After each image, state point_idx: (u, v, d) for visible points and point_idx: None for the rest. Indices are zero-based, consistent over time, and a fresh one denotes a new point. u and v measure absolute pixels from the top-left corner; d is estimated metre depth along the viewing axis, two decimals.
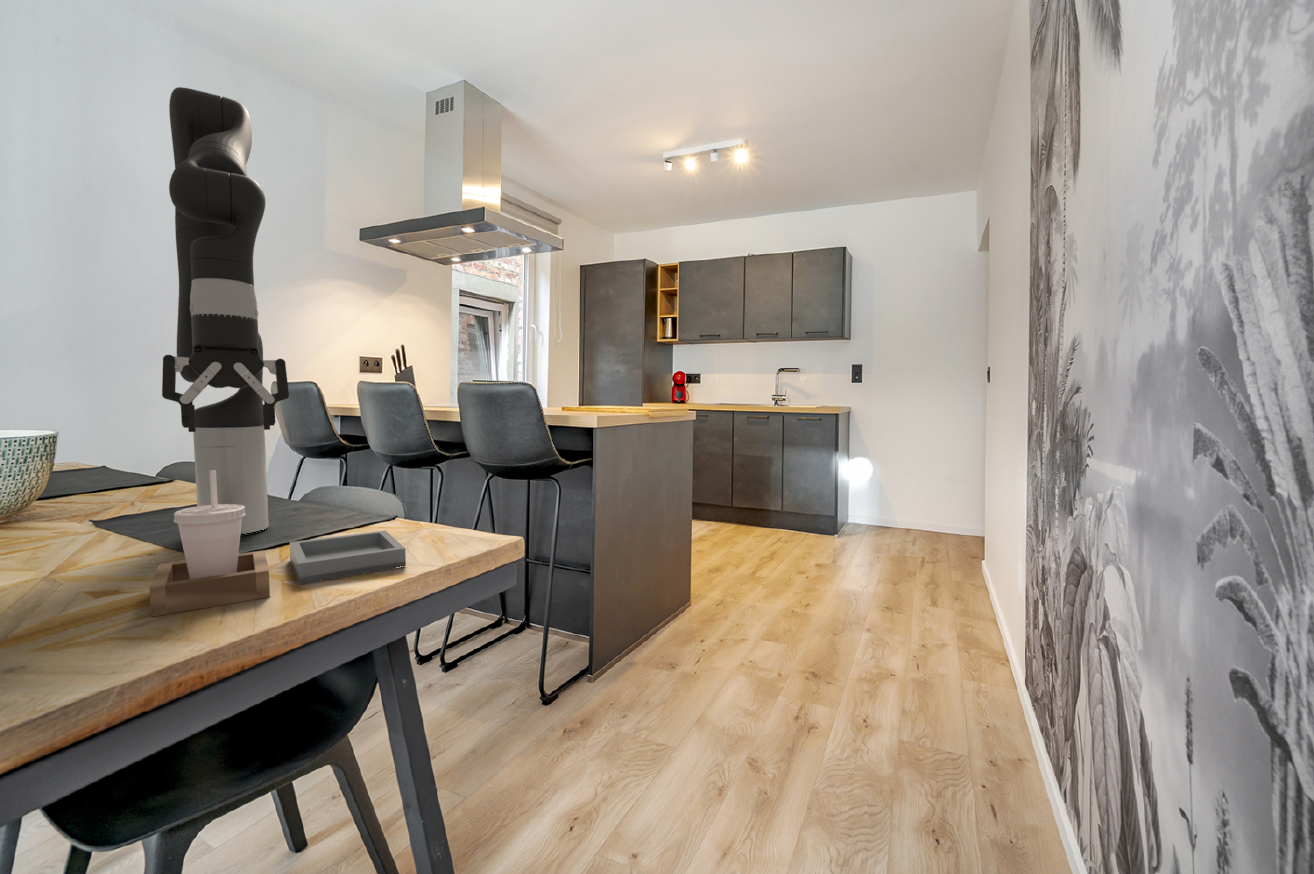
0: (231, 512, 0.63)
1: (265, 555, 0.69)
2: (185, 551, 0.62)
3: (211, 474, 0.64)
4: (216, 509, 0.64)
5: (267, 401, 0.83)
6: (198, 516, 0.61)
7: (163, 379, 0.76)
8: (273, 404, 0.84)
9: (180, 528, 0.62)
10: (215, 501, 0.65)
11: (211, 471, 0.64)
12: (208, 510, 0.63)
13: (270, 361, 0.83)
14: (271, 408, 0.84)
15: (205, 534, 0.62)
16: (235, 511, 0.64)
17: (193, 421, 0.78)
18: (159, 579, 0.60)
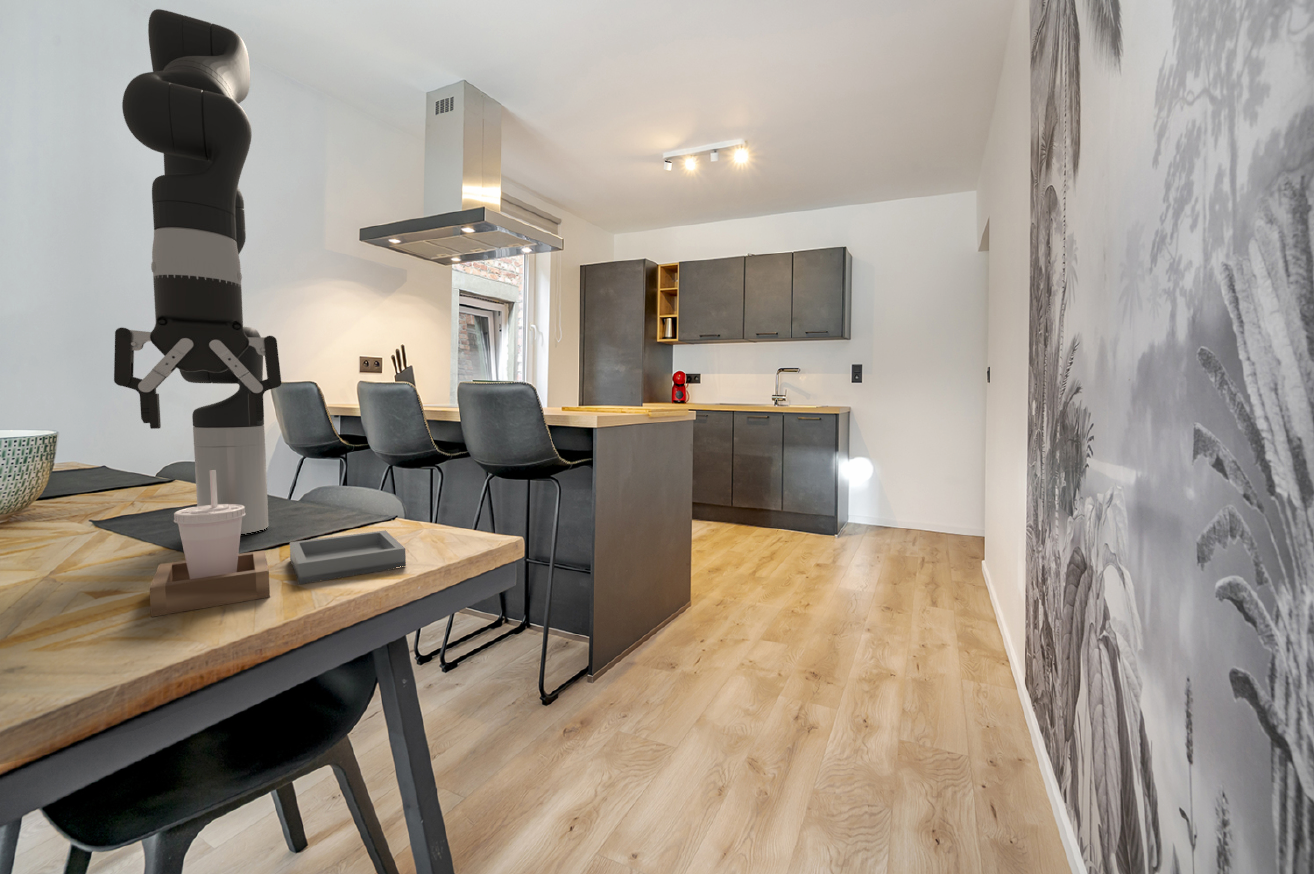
0: (231, 512, 0.63)
1: (265, 555, 0.69)
2: (185, 551, 0.62)
3: (211, 474, 0.64)
4: (216, 509, 0.64)
5: (253, 390, 0.65)
6: (198, 516, 0.61)
7: (115, 359, 0.58)
8: (261, 394, 0.66)
9: (180, 528, 0.62)
10: (215, 501, 0.65)
11: (211, 471, 0.64)
12: (208, 510, 0.63)
13: (257, 339, 0.65)
14: (258, 399, 0.66)
15: (205, 534, 0.62)
16: (235, 511, 0.64)
17: (156, 415, 0.60)
18: (159, 579, 0.60)
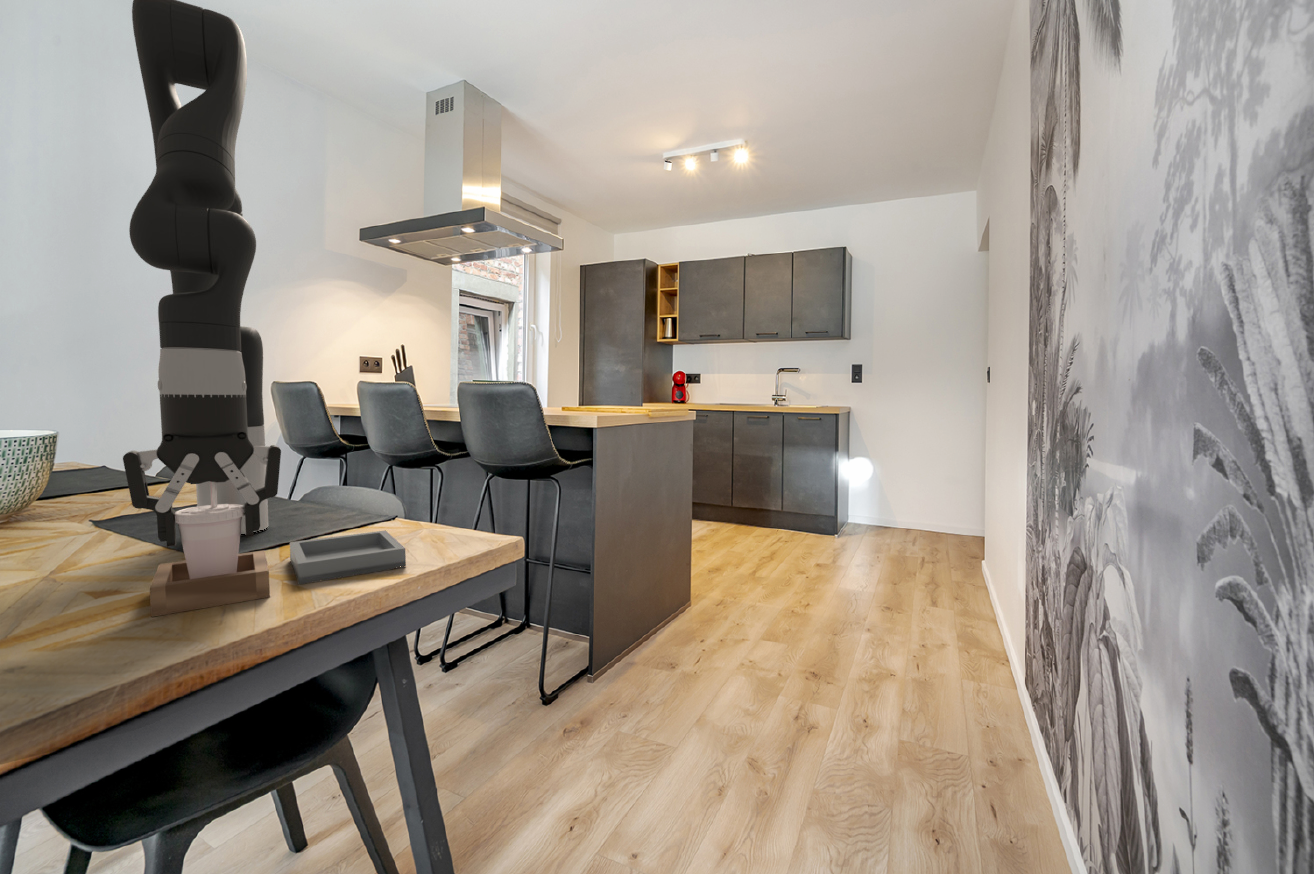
0: (231, 512, 0.63)
1: (265, 555, 0.69)
2: (185, 551, 0.62)
3: None
4: (216, 509, 0.64)
5: (250, 502, 0.65)
6: (198, 516, 0.61)
7: (129, 485, 0.59)
8: (257, 504, 0.66)
9: (180, 528, 0.62)
10: (215, 501, 0.65)
11: None
12: (208, 510, 0.63)
13: (262, 448, 0.66)
14: (255, 509, 0.66)
15: (205, 534, 0.62)
16: (235, 511, 0.64)
17: (173, 533, 0.62)
18: (159, 579, 0.60)
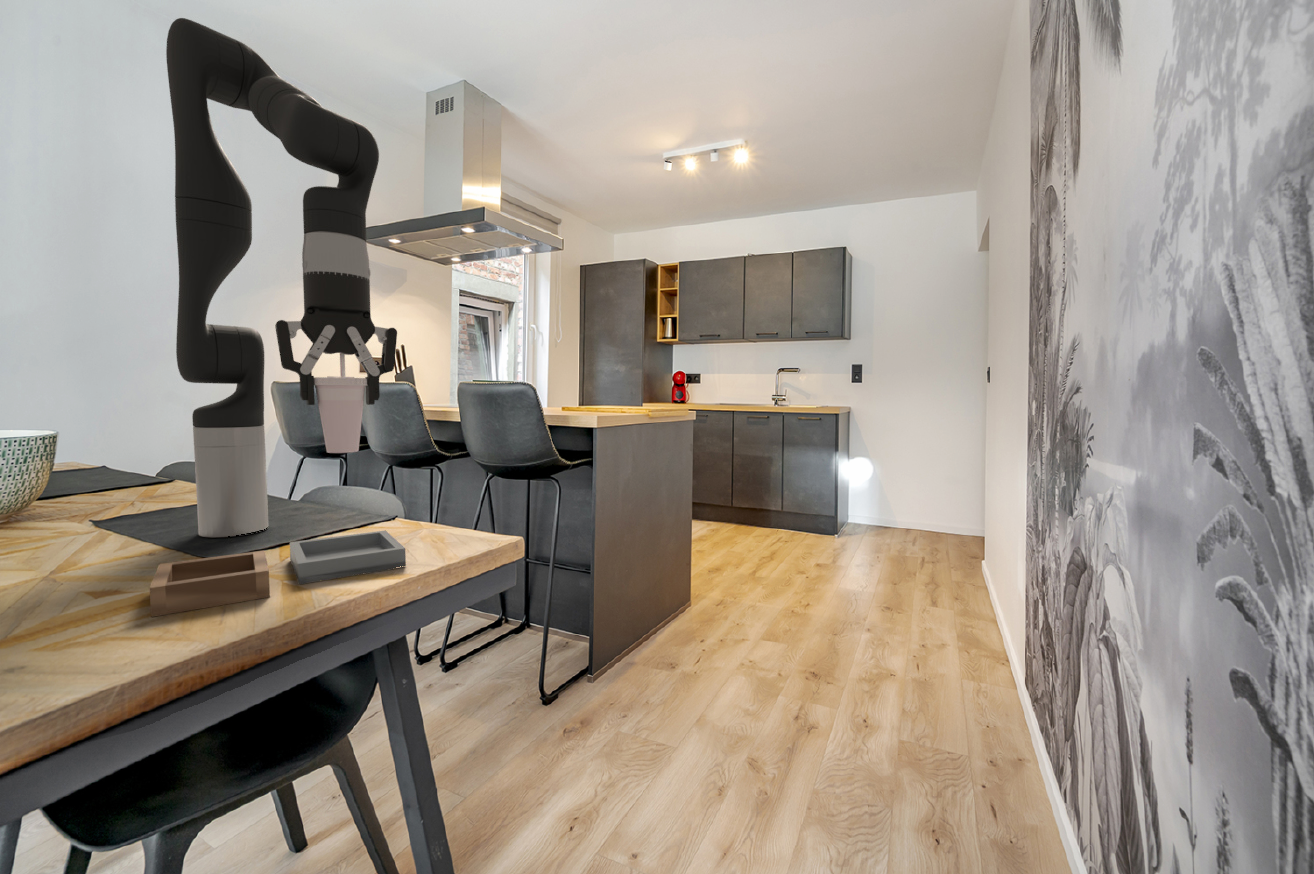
0: (359, 379, 0.74)
1: (265, 555, 0.69)
2: (322, 411, 0.73)
3: None
4: (346, 377, 0.74)
5: (372, 373, 0.76)
6: (335, 378, 0.72)
7: (281, 347, 0.70)
8: (377, 377, 0.77)
9: (318, 390, 0.72)
10: (344, 371, 0.75)
11: None
12: (340, 377, 0.74)
13: (382, 329, 0.77)
14: (375, 381, 0.77)
15: (340, 395, 0.72)
16: (362, 379, 0.74)
17: (313, 393, 0.72)
18: (159, 579, 0.60)
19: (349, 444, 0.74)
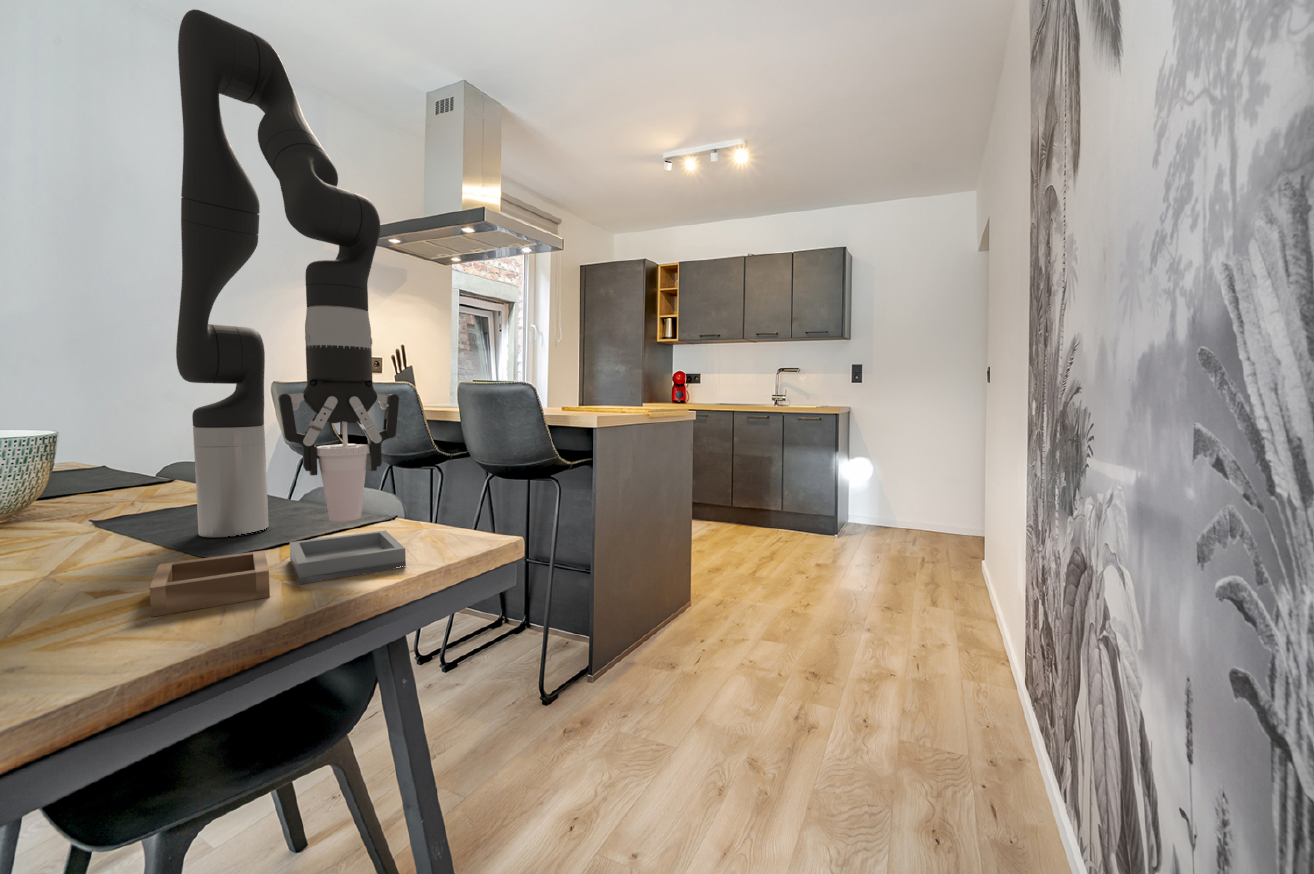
0: (362, 448, 0.74)
1: (265, 555, 0.69)
2: (324, 480, 0.73)
3: None
4: (348, 446, 0.75)
5: (374, 440, 0.76)
6: (337, 449, 0.72)
7: (284, 421, 0.70)
8: (380, 443, 0.77)
9: (321, 460, 0.73)
10: (346, 439, 0.76)
11: None
12: (342, 446, 0.74)
13: (384, 395, 0.77)
14: (378, 448, 0.77)
15: (342, 465, 0.73)
16: (364, 447, 0.75)
17: (316, 464, 0.73)
18: (159, 579, 0.60)
19: (351, 512, 0.75)
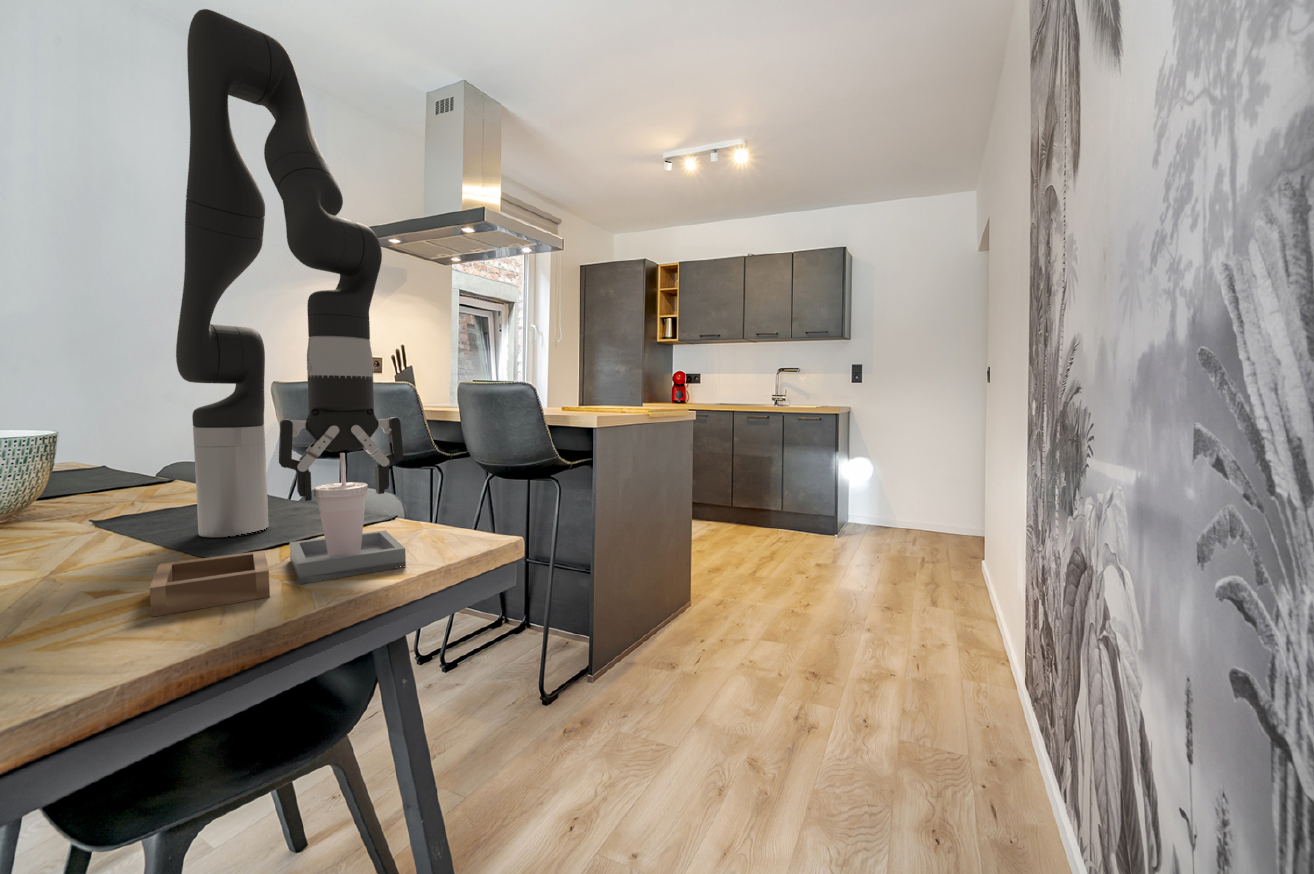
0: (360, 488, 0.75)
1: (265, 555, 0.69)
2: (324, 521, 0.74)
3: (341, 456, 0.76)
4: (347, 486, 0.75)
5: (382, 464, 0.77)
6: (336, 491, 0.73)
7: (281, 446, 0.70)
8: (387, 466, 0.78)
9: (320, 501, 0.73)
10: (344, 479, 0.76)
11: (341, 454, 0.76)
12: (341, 486, 0.75)
13: (385, 420, 0.78)
14: (385, 471, 0.78)
15: (341, 506, 0.73)
16: (363, 487, 0.75)
17: (310, 489, 0.72)
18: (159, 579, 0.60)
19: (351, 551, 0.75)
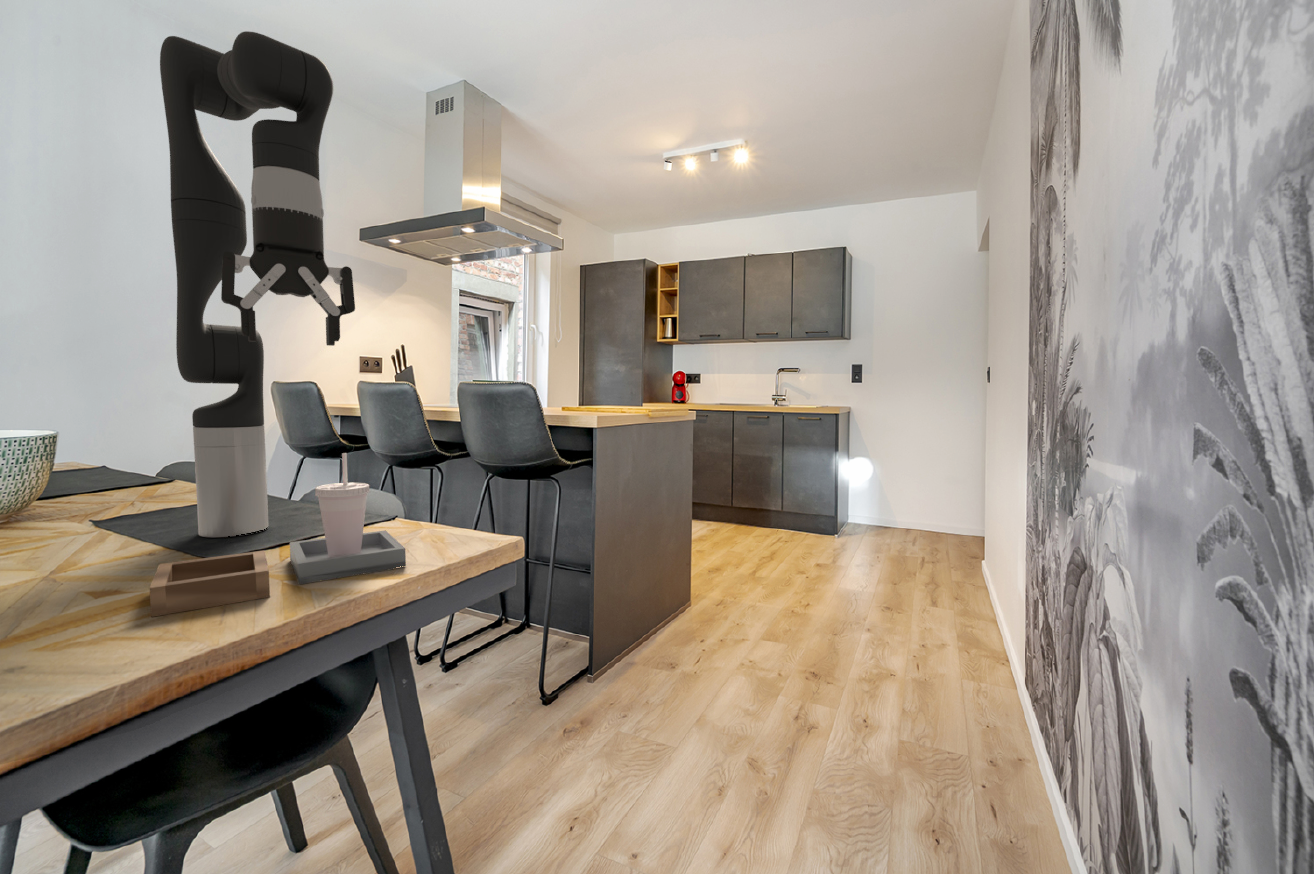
0: (362, 488, 0.75)
1: (265, 555, 0.69)
2: (325, 521, 0.74)
3: (343, 456, 0.76)
4: (348, 486, 0.75)
5: (332, 313, 0.75)
6: (338, 491, 0.73)
7: (223, 279, 0.68)
8: (338, 317, 0.76)
9: (321, 501, 0.73)
10: (346, 479, 0.76)
11: (343, 454, 0.76)
12: (343, 486, 0.75)
13: (335, 269, 0.75)
14: (336, 321, 0.76)
15: (342, 506, 0.74)
16: (364, 487, 0.75)
17: (254, 329, 0.70)
18: (159, 579, 0.60)
19: (351, 552, 0.75)
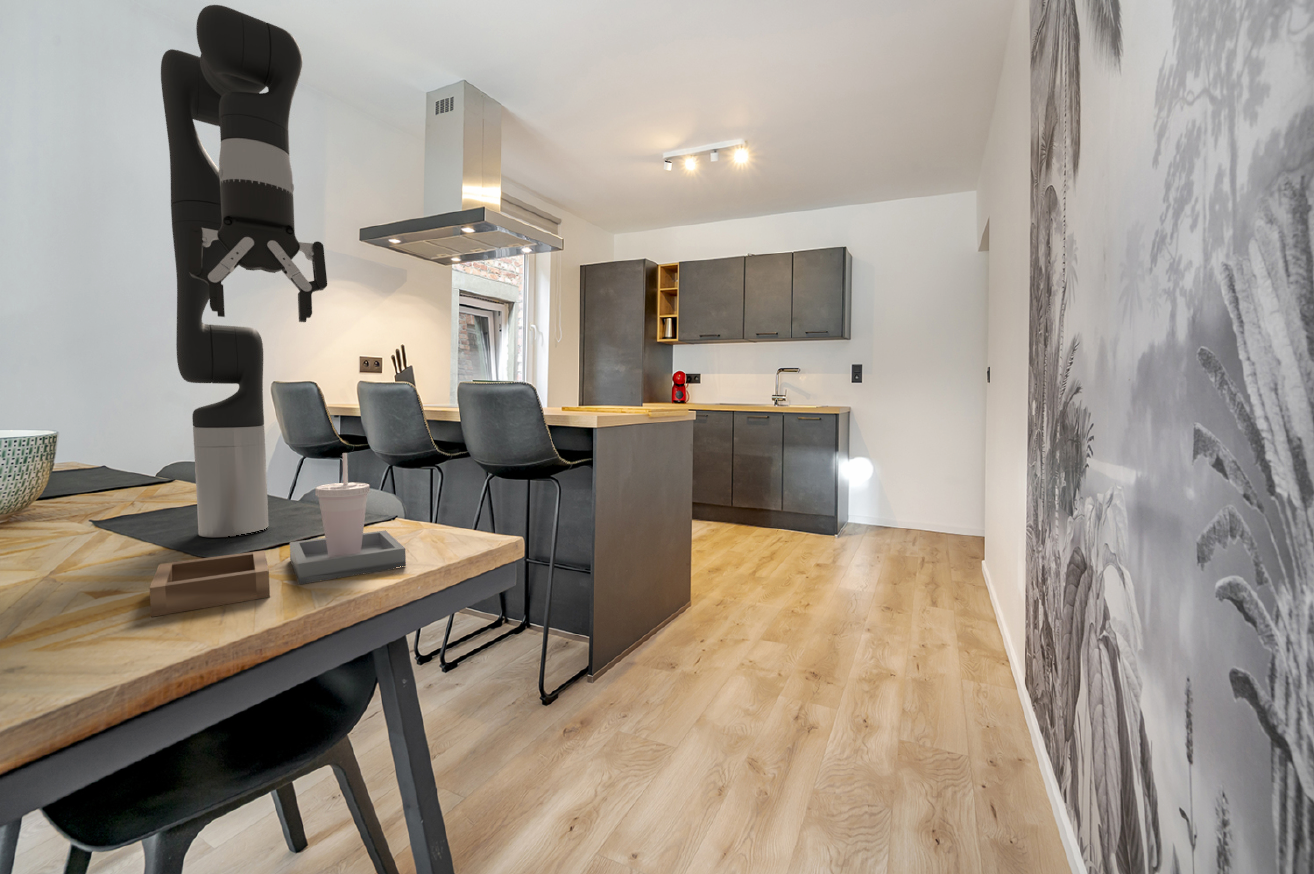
0: (362, 488, 0.75)
1: (265, 555, 0.69)
2: (325, 521, 0.74)
3: (344, 456, 0.76)
4: (349, 486, 0.75)
5: (303, 288, 0.74)
6: (338, 491, 0.73)
7: (189, 252, 0.67)
8: (310, 293, 0.75)
9: (321, 501, 0.73)
10: (346, 479, 0.76)
11: (344, 454, 0.76)
12: (343, 486, 0.75)
13: (307, 244, 0.74)
14: (308, 297, 0.75)
15: (343, 506, 0.73)
16: (365, 487, 0.75)
17: (222, 303, 0.69)
18: (159, 579, 0.60)
19: (351, 552, 0.75)
